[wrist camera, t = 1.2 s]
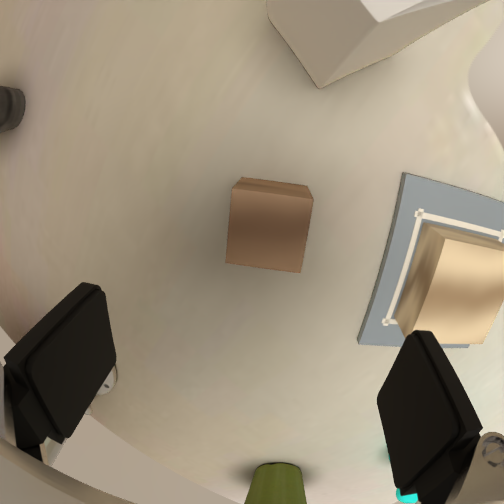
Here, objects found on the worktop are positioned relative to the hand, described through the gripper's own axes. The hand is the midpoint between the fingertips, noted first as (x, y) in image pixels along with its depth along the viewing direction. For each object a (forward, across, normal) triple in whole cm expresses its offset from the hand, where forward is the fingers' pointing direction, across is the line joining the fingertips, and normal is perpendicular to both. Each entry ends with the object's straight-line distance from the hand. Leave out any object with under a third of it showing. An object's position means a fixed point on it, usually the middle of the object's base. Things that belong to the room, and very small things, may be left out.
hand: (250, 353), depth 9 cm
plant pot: (+16, -7, +40) cm, 44 cm away
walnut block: (+16, 0, 0) cm, 17 cm away
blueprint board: (+16, -17, +3) cm, 24 cm away
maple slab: (+16, -17, +3) cm, 23 cm away
